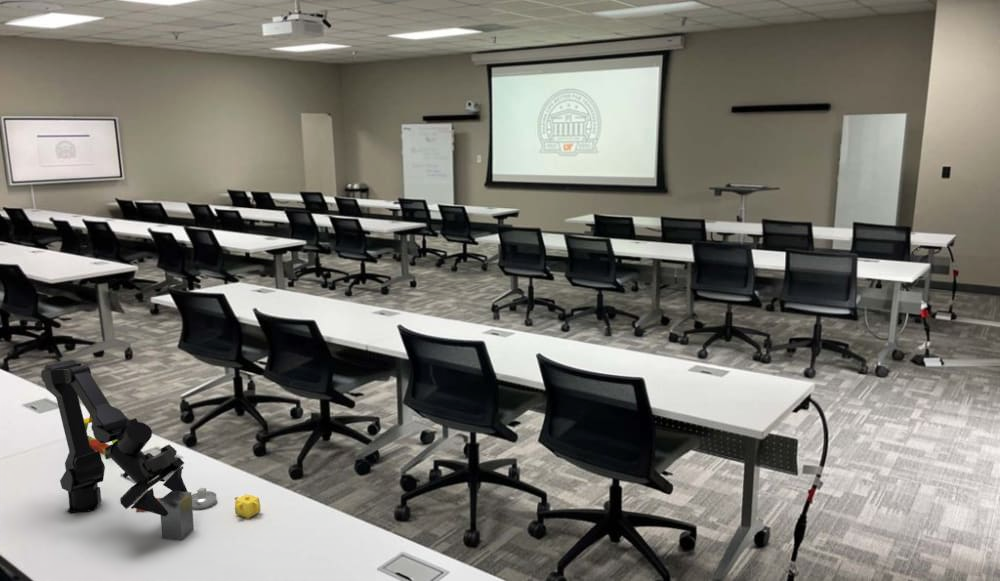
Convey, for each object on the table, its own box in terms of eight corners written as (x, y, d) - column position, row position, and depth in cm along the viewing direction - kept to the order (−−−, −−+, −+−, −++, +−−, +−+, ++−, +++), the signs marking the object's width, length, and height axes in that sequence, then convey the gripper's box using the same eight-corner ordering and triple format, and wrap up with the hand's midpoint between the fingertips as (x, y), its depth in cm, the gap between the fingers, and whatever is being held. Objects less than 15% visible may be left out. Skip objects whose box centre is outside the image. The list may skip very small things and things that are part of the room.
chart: (135, 461, 223) (131, 414, 220) (124, 464, 220) (120, 417, 217) (85, 439, 240) (81, 395, 237) (75, 442, 237) (71, 398, 235)
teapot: (225, 516, 188) (224, 498, 187) (242, 507, 193) (241, 489, 192) (248, 524, 185) (247, 505, 184) (265, 514, 190) (264, 495, 189)
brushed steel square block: (162, 538, 177) (159, 500, 175) (174, 528, 182) (171, 490, 180) (182, 540, 176) (179, 501, 174) (193, 529, 181) (191, 492, 180)
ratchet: (134, 515, 188) (133, 500, 188) (141, 503, 195) (140, 488, 194) (214, 508, 192) (213, 493, 192) (218, 497, 199) (217, 482, 198)
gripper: (128, 454, 166) (176, 503, 167) (174, 426, 185) (218, 470, 185) (99, 485, 169) (147, 532, 169) (148, 454, 187) (191, 497, 187)
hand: (177, 506), depth 178 cm, fingers open, 9 cm apart
